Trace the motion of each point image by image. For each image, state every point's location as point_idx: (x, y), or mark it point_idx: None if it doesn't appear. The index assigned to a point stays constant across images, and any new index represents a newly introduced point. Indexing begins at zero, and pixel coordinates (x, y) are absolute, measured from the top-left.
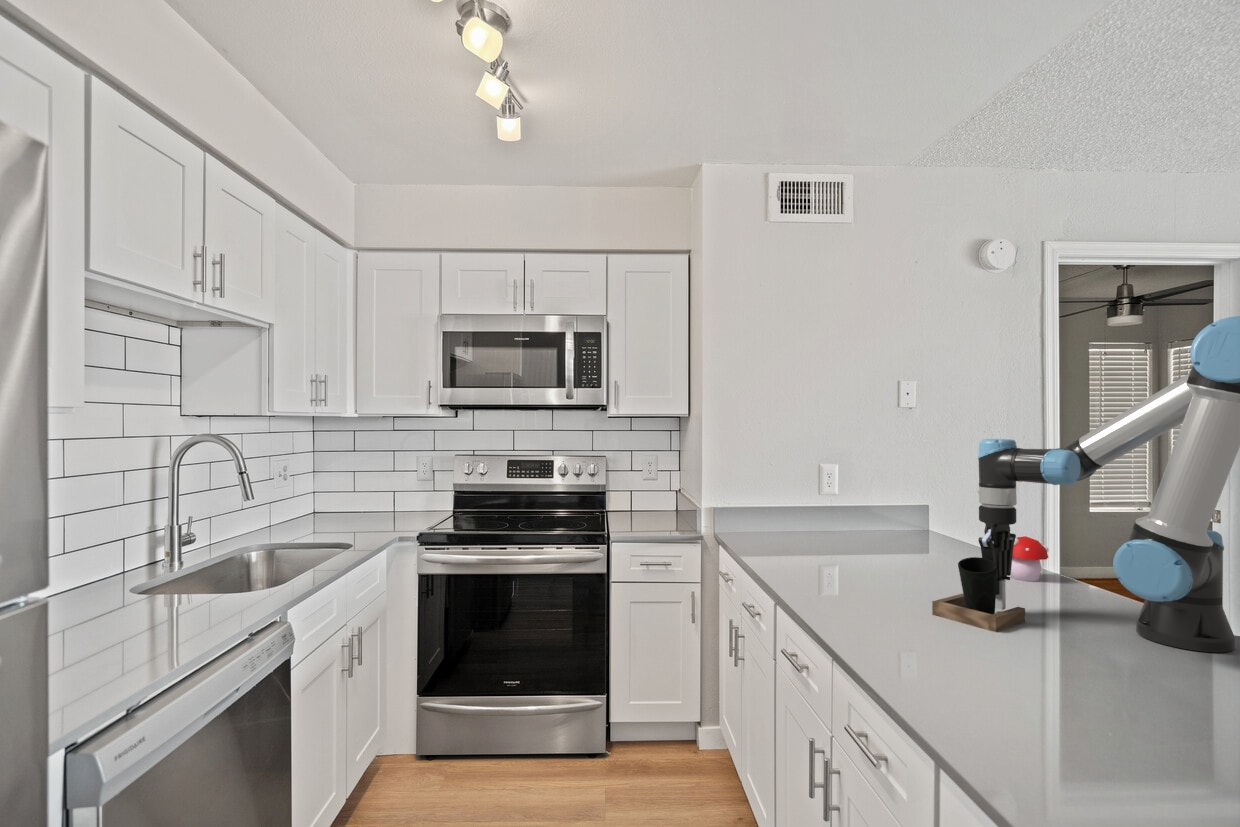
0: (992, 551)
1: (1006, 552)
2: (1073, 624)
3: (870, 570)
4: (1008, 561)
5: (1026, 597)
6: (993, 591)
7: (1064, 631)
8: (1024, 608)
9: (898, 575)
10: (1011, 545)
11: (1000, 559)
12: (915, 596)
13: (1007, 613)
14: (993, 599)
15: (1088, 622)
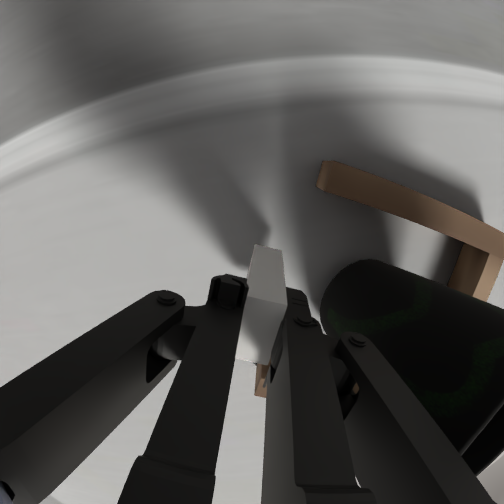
0: (477, 485)
1: (162, 437)
2: (224, 28)
3: (111, 499)
4: (131, 353)
5: (8, 229)
6: (465, 294)
7: (345, 42)
8: (338, 162)
9: (94, 473)
10: (12, 434)
11: (316, 418)
12: (243, 455)
13: (456, 211)
14: (433, 281)
15: (161, 8)
